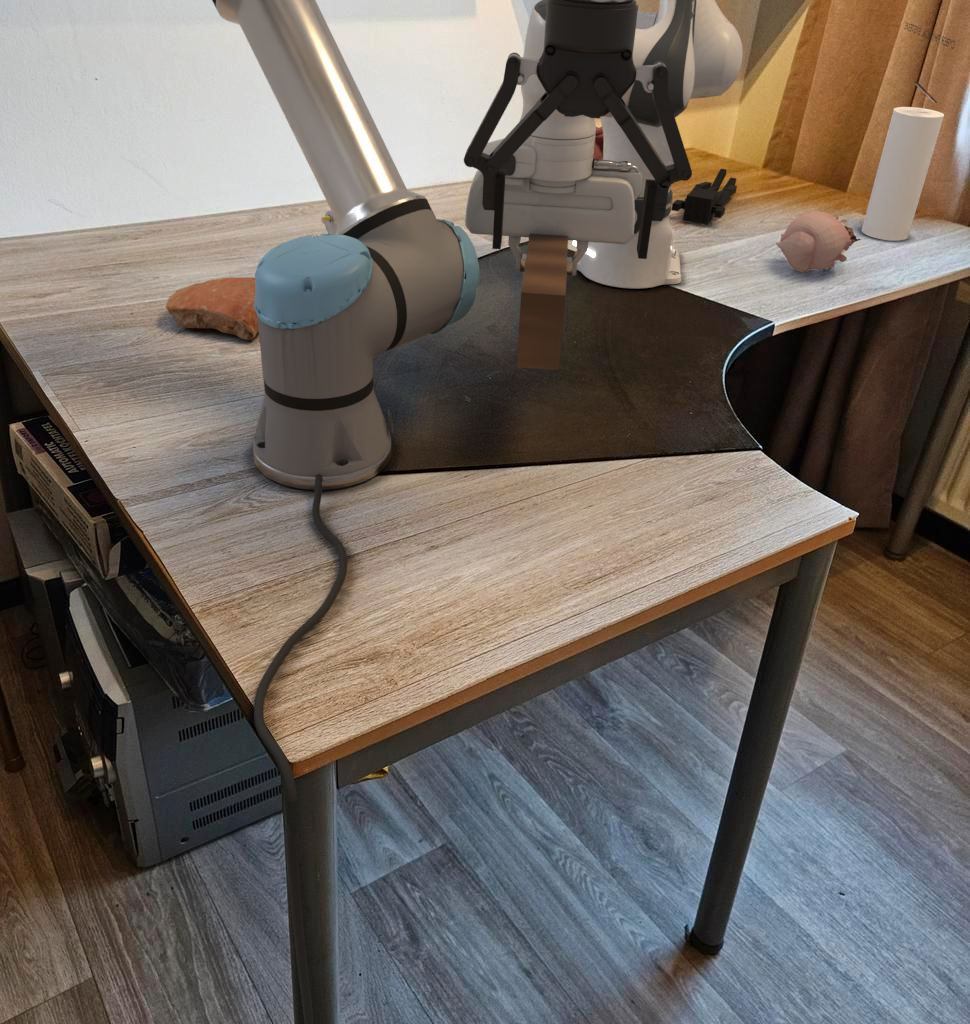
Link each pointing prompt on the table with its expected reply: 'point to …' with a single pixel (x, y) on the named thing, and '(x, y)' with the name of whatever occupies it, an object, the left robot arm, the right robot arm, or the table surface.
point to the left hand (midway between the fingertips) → (569, 249)
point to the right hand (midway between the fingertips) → (545, 272)
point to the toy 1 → (706, 200)
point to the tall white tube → (902, 168)
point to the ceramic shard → (217, 306)
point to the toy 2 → (816, 241)
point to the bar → (542, 302)
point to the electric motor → (330, 223)
